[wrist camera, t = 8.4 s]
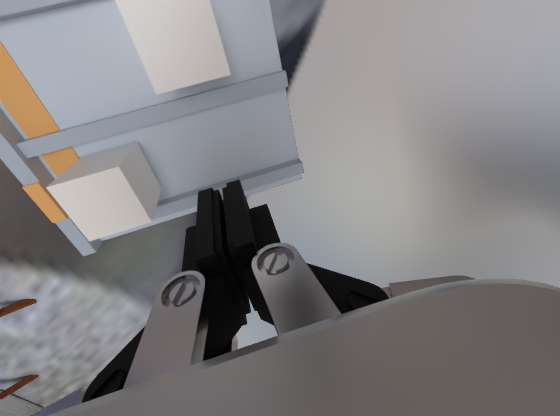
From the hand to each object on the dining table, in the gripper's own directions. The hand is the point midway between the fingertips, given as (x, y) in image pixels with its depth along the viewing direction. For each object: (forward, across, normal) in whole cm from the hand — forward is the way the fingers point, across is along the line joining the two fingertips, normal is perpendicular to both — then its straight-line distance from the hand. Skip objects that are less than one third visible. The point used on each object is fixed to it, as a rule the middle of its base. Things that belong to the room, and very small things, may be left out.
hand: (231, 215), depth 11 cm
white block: (+11, +8, +1) cm, 14 cm away
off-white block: (+12, 0, -6) cm, 13 cm away
